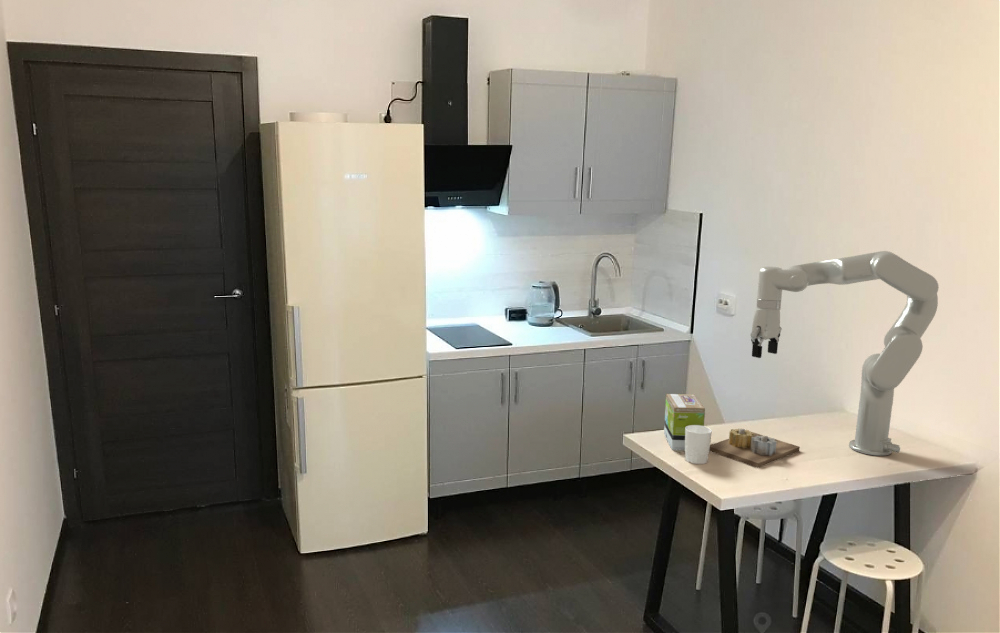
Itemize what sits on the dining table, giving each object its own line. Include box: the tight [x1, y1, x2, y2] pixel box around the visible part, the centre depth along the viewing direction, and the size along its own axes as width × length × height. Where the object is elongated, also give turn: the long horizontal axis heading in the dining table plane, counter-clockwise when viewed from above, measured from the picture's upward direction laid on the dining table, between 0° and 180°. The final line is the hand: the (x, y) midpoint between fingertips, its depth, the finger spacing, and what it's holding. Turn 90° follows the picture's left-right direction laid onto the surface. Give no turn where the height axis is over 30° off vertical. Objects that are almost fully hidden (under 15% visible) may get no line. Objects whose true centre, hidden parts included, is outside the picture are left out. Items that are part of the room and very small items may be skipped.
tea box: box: [663, 393, 706, 452], centre depth 245 cm, size 15×10×15 cm, turn 178°
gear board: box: [709, 428, 800, 469], centre depth 240 cm, size 18×24×6 cm
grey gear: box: [751, 435, 777, 456], centre depth 236 cm, size 7×7×4 cm
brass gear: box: [728, 428, 755, 448], centre depth 242 cm, size 7×7×4 cm
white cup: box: [684, 425, 713, 465], centre depth 231 cm, size 8×8×10 cm
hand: (764, 355), depth 251 cm, fingers open, 9 cm apart
